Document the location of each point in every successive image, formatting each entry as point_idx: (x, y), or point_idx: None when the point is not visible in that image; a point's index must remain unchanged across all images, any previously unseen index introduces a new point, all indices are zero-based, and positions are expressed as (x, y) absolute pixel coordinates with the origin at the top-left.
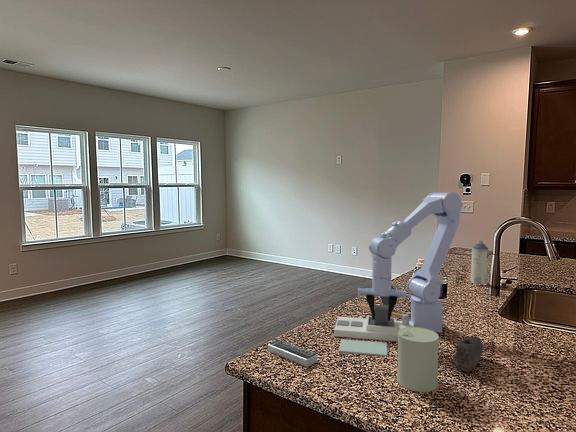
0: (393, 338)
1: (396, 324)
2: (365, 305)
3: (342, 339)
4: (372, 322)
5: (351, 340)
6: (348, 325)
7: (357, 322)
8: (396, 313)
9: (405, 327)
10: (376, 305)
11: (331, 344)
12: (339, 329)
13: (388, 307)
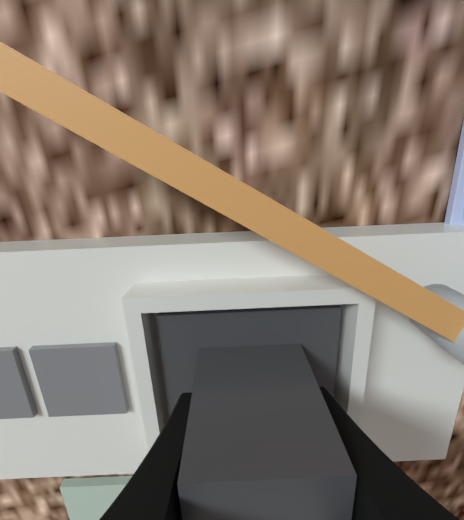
0: None
1: (360, 423)
2: (28, 75)
3: (65, 489)
4: (187, 391)
5: (110, 490)
6: (36, 406)
7: (79, 365)
8: (408, 297)
9: (411, 355)
10: (201, 497)
11: (35, 513)
12: (8, 470)
13: (355, 471)
